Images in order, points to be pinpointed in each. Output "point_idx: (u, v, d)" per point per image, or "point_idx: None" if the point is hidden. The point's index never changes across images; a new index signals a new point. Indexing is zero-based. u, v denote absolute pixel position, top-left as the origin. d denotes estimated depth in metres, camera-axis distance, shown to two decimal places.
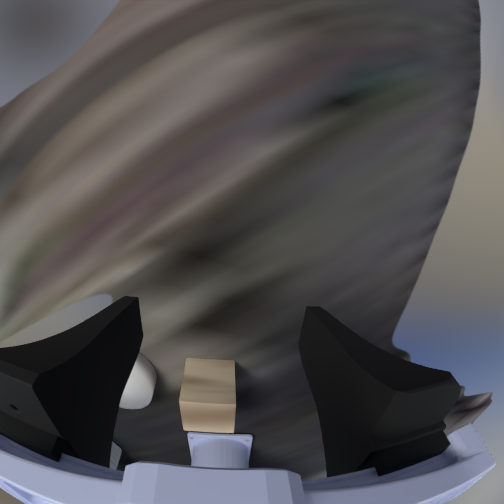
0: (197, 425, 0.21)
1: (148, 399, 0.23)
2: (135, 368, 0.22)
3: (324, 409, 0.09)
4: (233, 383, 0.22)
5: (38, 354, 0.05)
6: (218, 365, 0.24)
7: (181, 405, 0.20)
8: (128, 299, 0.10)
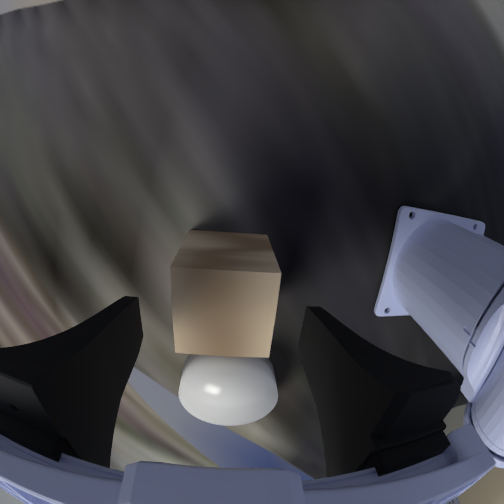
0: (249, 336, 0.12)
1: (248, 371, 0.17)
2: (188, 371, 0.17)
3: (324, 409, 0.09)
4: None
5: (37, 355, 0.05)
6: None
7: (187, 351, 0.13)
8: (128, 299, 0.10)
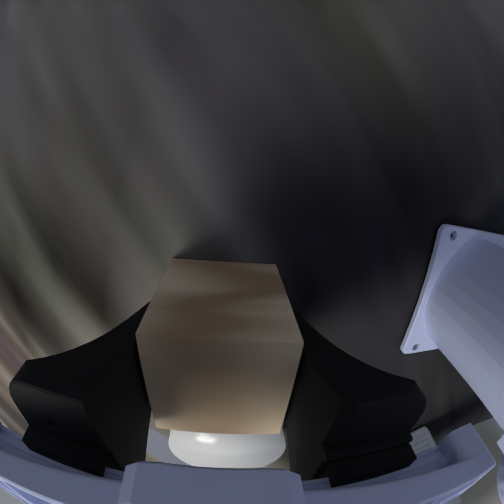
0: (254, 414, 0.08)
1: None
2: None
3: (289, 412, 0.08)
4: None
5: (77, 365, 0.05)
6: None
7: (171, 427, 0.08)
8: None
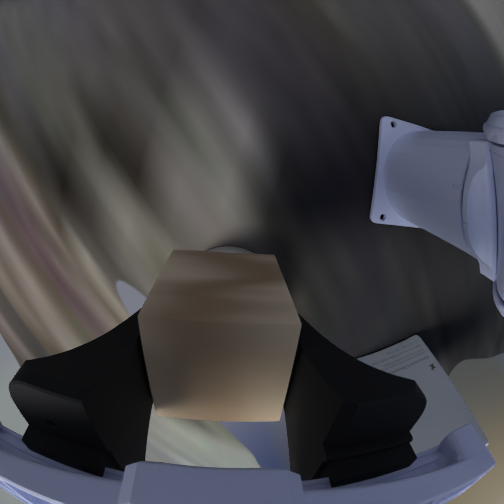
0: (254, 400, 0.09)
1: None
2: None
3: (289, 412, 0.08)
4: None
5: (76, 365, 0.05)
6: None
7: (172, 415, 0.09)
8: None
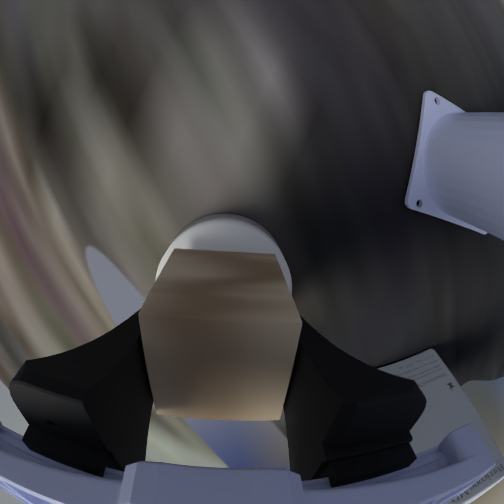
0: (254, 399, 0.09)
1: (256, 240, 0.13)
2: (175, 240, 0.13)
3: (289, 412, 0.08)
4: None
5: (77, 365, 0.05)
6: None
7: (172, 413, 0.09)
8: None
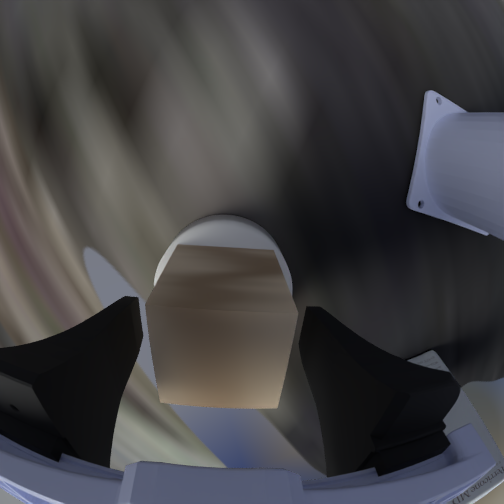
0: (253, 386, 0.09)
1: (256, 242, 0.13)
2: (174, 242, 0.13)
3: (324, 409, 0.09)
4: None
5: (37, 354, 0.05)
6: None
7: (175, 401, 0.09)
8: (128, 299, 0.10)
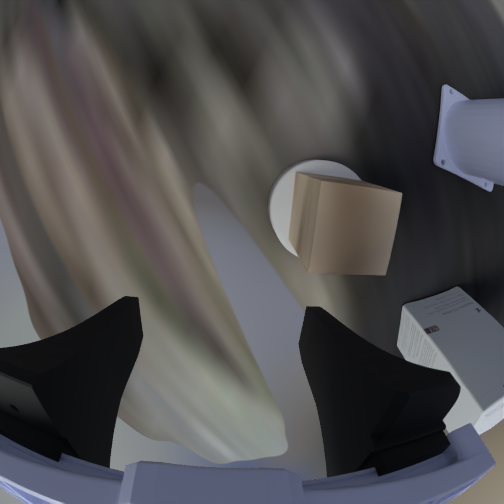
0: (374, 251, 0.14)
1: (349, 173, 0.18)
2: (290, 171, 0.18)
3: (324, 409, 0.09)
4: (307, 178, 0.15)
5: (37, 354, 0.05)
6: (295, 196, 0.17)
7: (320, 270, 0.14)
8: (128, 299, 0.10)
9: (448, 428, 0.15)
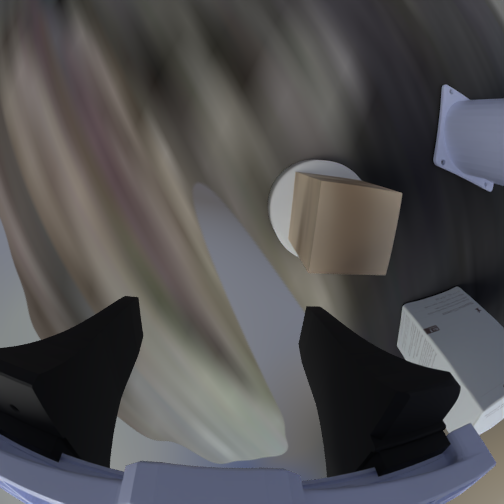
0: (375, 251, 0.14)
1: (349, 173, 0.18)
2: (290, 171, 0.18)
3: (324, 409, 0.09)
4: (307, 178, 0.15)
5: (38, 355, 0.05)
6: (295, 196, 0.17)
7: (320, 270, 0.14)
8: (128, 299, 0.10)
9: (448, 428, 0.15)
